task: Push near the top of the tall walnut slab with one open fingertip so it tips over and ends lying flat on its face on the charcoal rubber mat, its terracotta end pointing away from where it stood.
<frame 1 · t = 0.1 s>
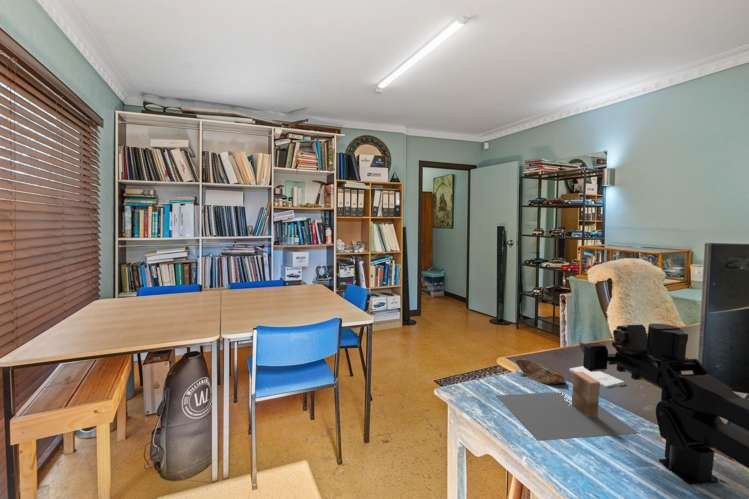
hand: (596, 344, 93), 17 cm above the table, tool horizontal, fingers open, 9 cm apart
walnut slab: (584, 410, 90), resting on rubber mat
rubber mat: (560, 413, 90), on the table
decorative stone: (541, 378, 110), on the table
external hard drive: (595, 380, 111), on the table
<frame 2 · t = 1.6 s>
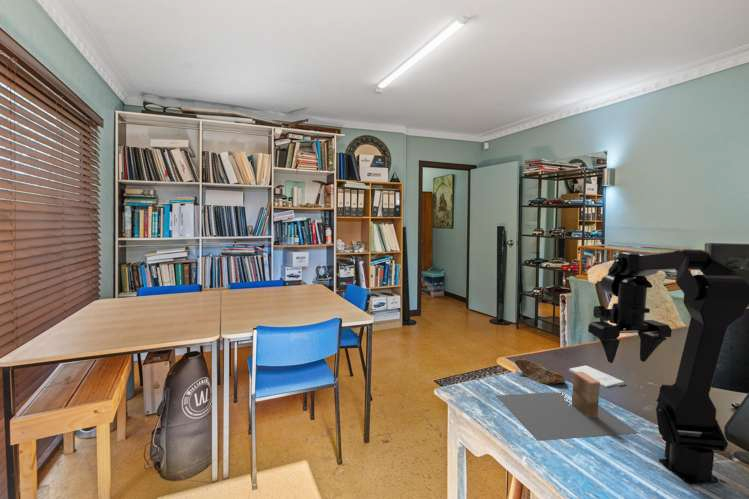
hand: (626, 361, 91), 13 cm above the table, tool pointing down, fingers open, 9 cm apart
nothing on the table moved.
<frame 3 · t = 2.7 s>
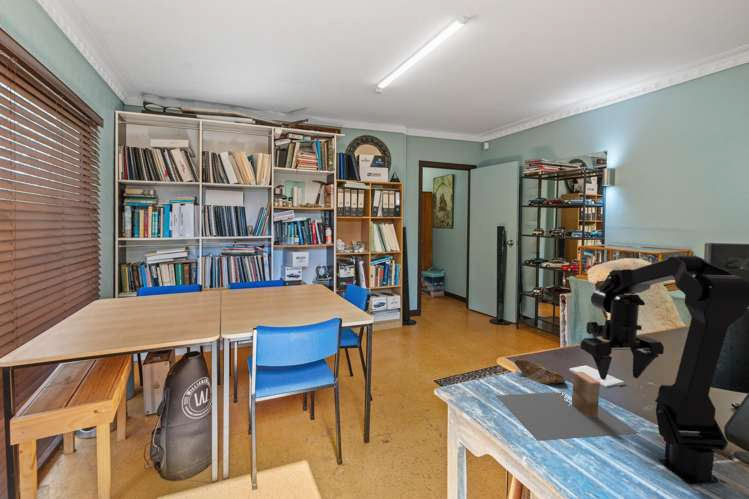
hand: (619, 378, 91), 9 cm above the table, tool pointing down, fingers open, 9 cm apart
nothing on the table moved.
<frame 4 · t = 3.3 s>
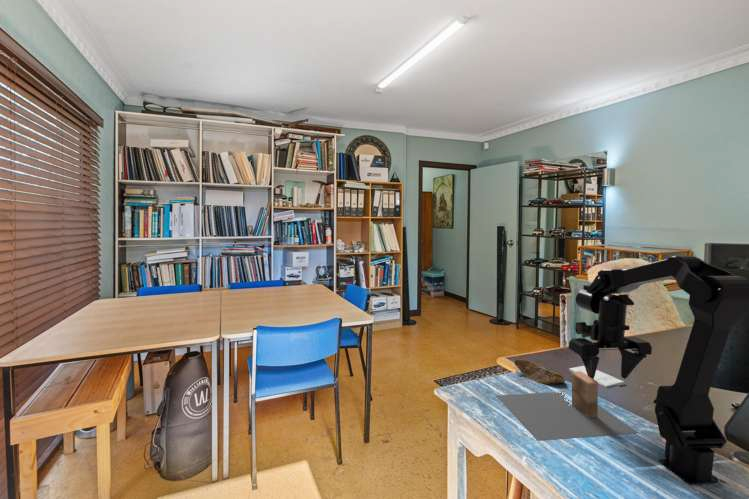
hand: (607, 378, 90), 9 cm above the table, tool pointing down, fingers open, 9 cm apart
walnut slab: (584, 410, 90), resting on rubber mat, touching gripper
everything else where it was.
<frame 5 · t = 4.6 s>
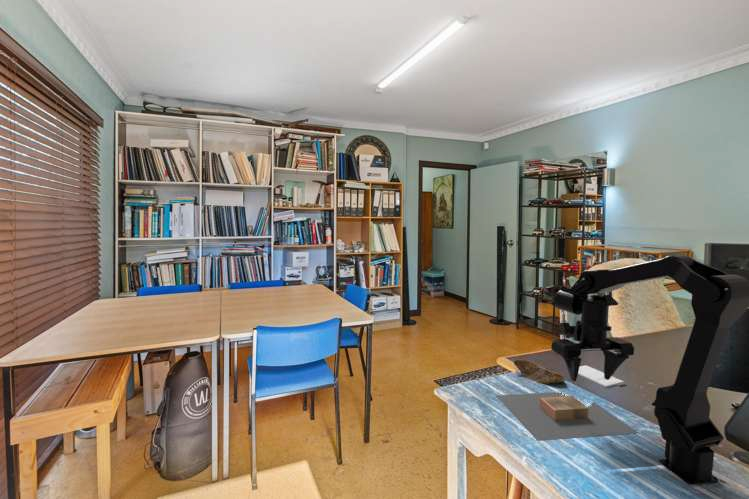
hand: (590, 379, 90), 9 cm above the table, tool pointing down, fingers open, 9 cm apart
walnut slab: (579, 406, 90), point 2 cm above the table, tilted 90°, touching rubber mat
everything else where it was.
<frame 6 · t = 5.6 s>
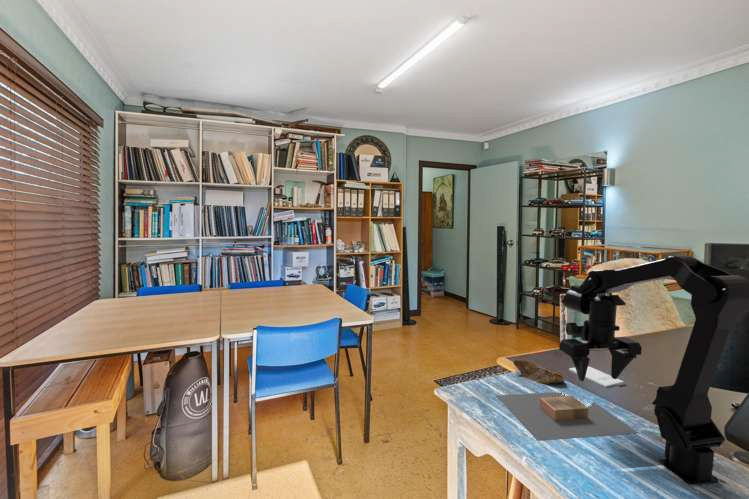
hand: (597, 379, 90), 9 cm above the table, tool pointing down, fingers open, 9 cm apart
nothing on the table moved.
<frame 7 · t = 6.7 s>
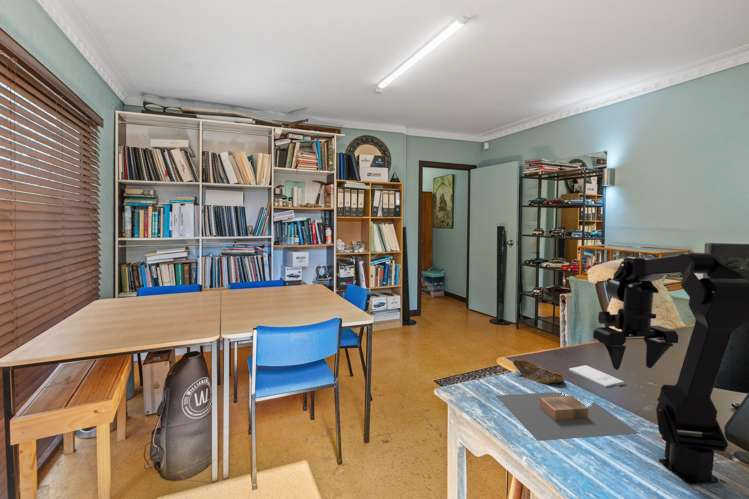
hand: (632, 368, 89), 12 cm above the table, tool pointing down, fingers open, 9 cm apart
nothing on the table moved.
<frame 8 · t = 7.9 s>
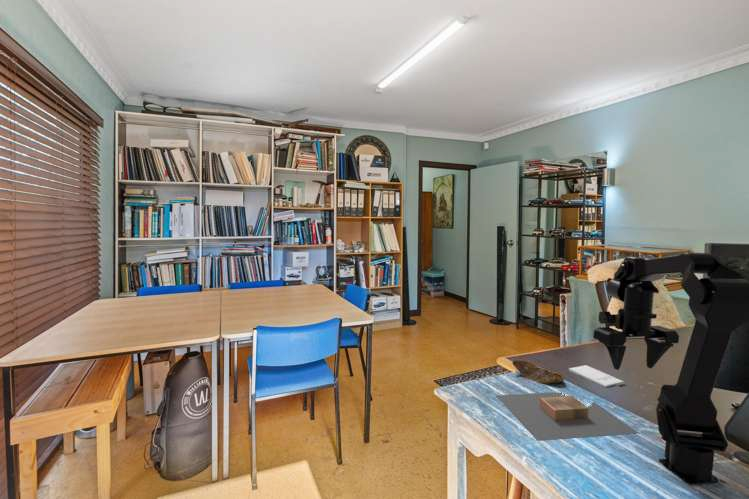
hand: (632, 368, 89), 12 cm above the table, tool pointing down, fingers open, 9 cm apart
nothing on the table moved.
at the end: walnut slab tilted 90°; walnut slab inside the target area on the rubber mat (3.7 cm from its centre), point 1.6 cm above the rubber mat's base; the gripper is holding nothing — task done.
